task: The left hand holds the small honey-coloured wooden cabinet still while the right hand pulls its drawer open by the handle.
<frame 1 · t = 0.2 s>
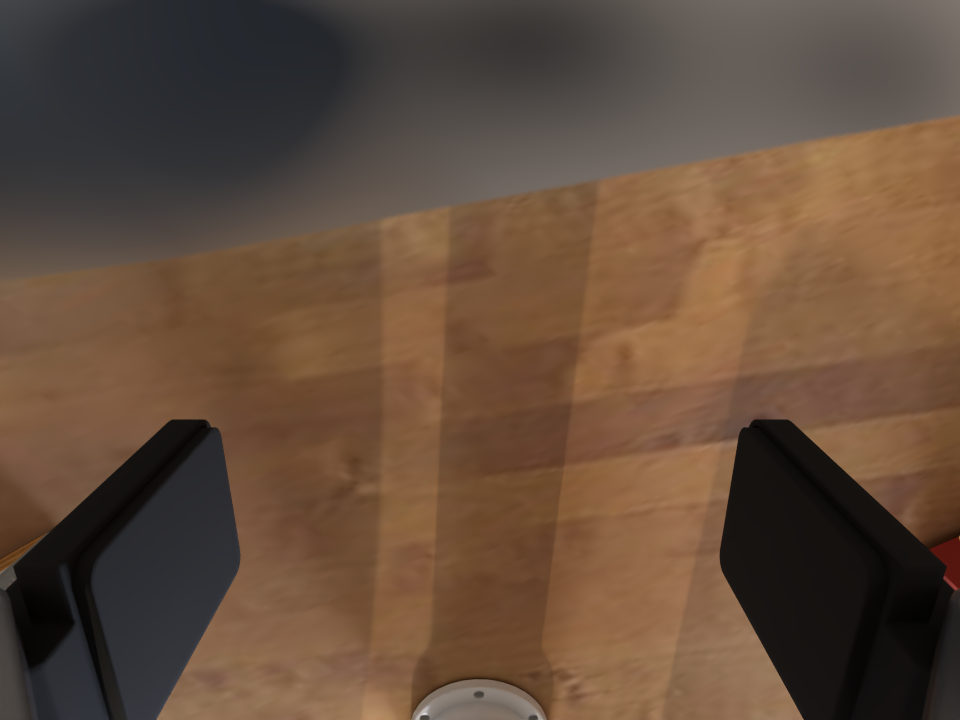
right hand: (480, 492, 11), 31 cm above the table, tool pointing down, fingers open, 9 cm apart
hard drive box: (19, 597, 51), on the table
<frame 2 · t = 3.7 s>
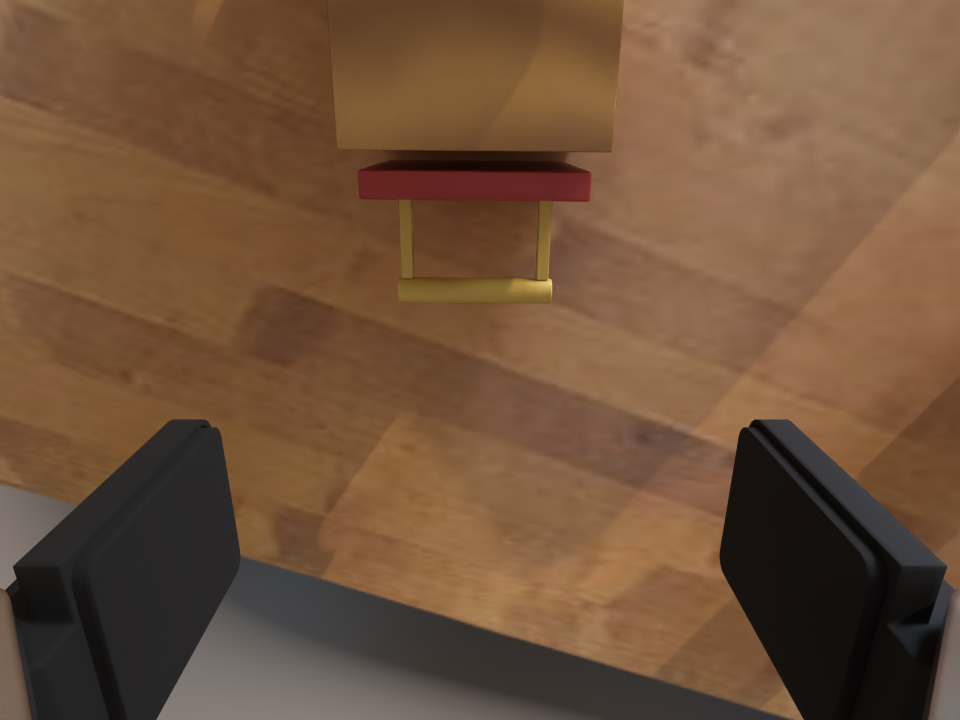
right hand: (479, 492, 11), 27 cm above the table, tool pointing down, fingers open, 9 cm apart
drawer: (476, 49, 28), point 6 cm above the table, slide at 0.8 cm
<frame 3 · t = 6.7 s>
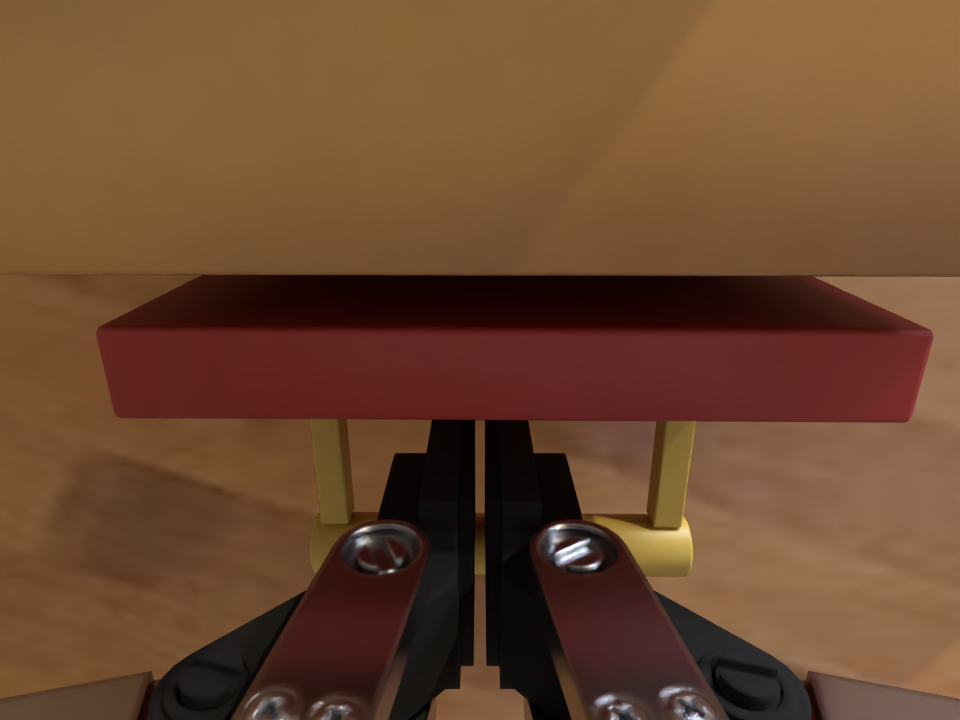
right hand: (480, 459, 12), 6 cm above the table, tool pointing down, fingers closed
when the left hand's fingers open (6 cm above the table, at t = 10.0 s): cabinet stays where it is, on the table.
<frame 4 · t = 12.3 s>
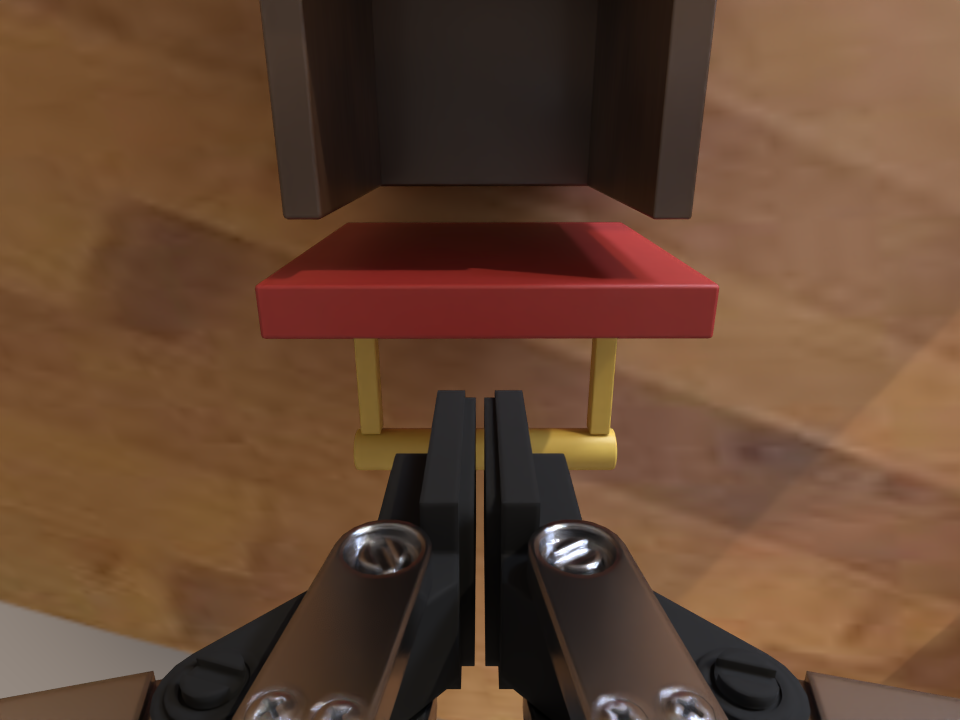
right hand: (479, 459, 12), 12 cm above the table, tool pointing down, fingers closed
drawer: (485, 43, 15), point 6 cm above the table, slide at 8.8 cm
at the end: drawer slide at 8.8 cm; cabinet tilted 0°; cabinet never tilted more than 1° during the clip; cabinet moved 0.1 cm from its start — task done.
